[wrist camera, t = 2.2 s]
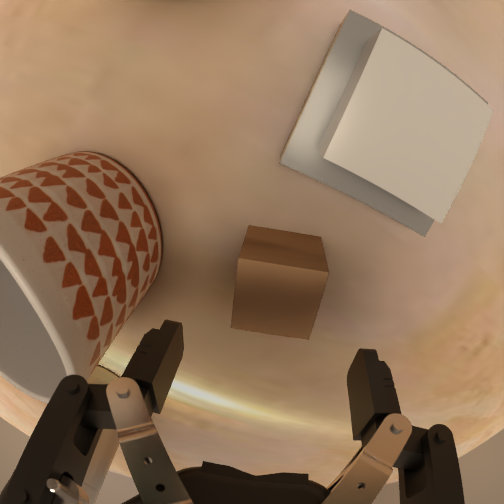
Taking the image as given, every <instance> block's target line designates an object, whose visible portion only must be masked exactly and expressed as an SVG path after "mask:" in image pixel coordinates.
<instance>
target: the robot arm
mask: <svg viewBox="0 0 504 504" xmlns="http://www.w3.org/2000/svg"><path fill="white" fill-rule="evenodd" d="M183 350H184V342H183V326H182V323H180V322H175V321H170V320H165V321H164V322H163V324H162V326H161V328H160V330H158V329H154V328H153V329H151V330H150V331H149V332H147V333H146V334H145V335H144V337H143V338H142V340H141V342H140V345H138V347H137V349H136V351H135V353H134V354H133V356H132V358H131V360H130V362H129V364H128V365H127V367H126V369H125V371H124V373H123V374H122V376H121V377H120V378H119V377H117V376H116V375H114V374H113V373H111V372H110V371H108V370H106V369H104V368H102V367H99V366H96V368H95V370H94V371H93V373H92V374H91V376H90V378H89V379H88V381H86V379H85V378H84V377H82V376H80V375H75V374H73V375H68V376H66V377H64V378H63V379H62V380H61V381H60V383H59V385H58V386H57V388H56V390H55V392H54V393H53V395H52V397H51V399H50V401H49V403H48V404H47V406H46V408H45V410H44V412H43V414H42V416H41V417H40V419H39V421H38V423H37V425H36V427H35V429H34V431H33V433H32V435H31V437H30V439H29V441H28V443H27V445H26V447H25V450H24V452H23V454H22V456H21V458H20V460H19V463H18V465H17V467H16V469H15V471H14V472H13V475H12V476H11V478H10V480H9V481H8V483H7V484H6V486H5V487H4V489H3V490H2V492H1V494H0V504H95V502H96V499H97V497H98V494H99V491H100V489H101V487H102V484H103V482H104V479H105V477H106V475H107V472H108V470H109V467H110V465H111V463H112V460H113V458H114V456H115V453H116V451H117V449H118V446H119V444H120V446H121V449H122V451H123V454H124V457H125V460H126V462H127V465H128V468H129V470H130V473H131V475H132V478H133V480H134V483H135V485H136V487H137V490H138V492H139V494H138V495H137V496H135V497H133V498H131V499H130V500H127V501H126V502H124V503H122V504H372V502H373V501H374V499H375V498H376V497H377V495H378V494H379V492H380V491H381V489H382V488H383V486H384V485H385V483H386V482H387V480H388V479H389V477H390V475H391V474H392V472H393V469H392V467H396V468H398V473H399V490H400V504H465V503H464V495H463V487H462V480H461V474H460V468H459V463H458V457H457V452H456V447H455V443H454V438H453V434H452V432H451V430H450V429H449V428H448V427H447V426H445V425H442V424H436V425H433V426H432V427H431V428H430V429H429V430H428V429H423V428H419V427H415V426H412V425H411V422H410V421H409V419H408V418H407V417H405V416H404V415H402V414H401V410H400V406H399V402H398V398H397V393H396V389H395V388H394V382H393V380H392V379H393V378H392V374H391V370H390V368H389V367H388V366H387V364H386V363H385V362H384V361H379V359H378V355H377V351H376V350H375V349H361V348H360V349H359V350H358V352H357V354H356V356H355V358H354V360H353V362H352V364H351V366H350V368H349V371H348V375H347V387H348V395H349V403H350V412H351V422H352V432H353V440H361V442H362V446H361V447H360V448H359V450H358V451H357V452H356V454H355V455H354V456H353V458H352V459H351V460H350V462H349V463H348V464H347V465H346V467H345V468H344V469H343V470H342V472H341V473H340V474H339V475H338V476H337V477H336V478H335V480H334V481H333V482H332V483H331V484H330V485H329V486H328V487H327V488H325V487H324V486H322V485H320V484H318V483H316V482H314V481H311V480H308V474H298V473H276V474H268V475H259V476H255V475H251V474H249V473H246V472H243V471H241V470H238V469H235V468H233V467H230V466H226V465H220V464H215V463H210V462H205V461H203V464H202V467H190V468H186V469H182V470H179V471H177V472H176V470H175V468H174V466H173V464H172V462H171V460H170V458H169V456H168V454H167V452H166V450H165V447H164V445H163V443H162V441H161V439H160V436H159V434H158V432H157V430H156V427H155V426H154V424H153V422H152V419H151V415H152V413H153V412H154V413H158V414H160V413H161V410H162V408H163V405H164V402H165V400H166V397H167V395H168V392H169V389H170V387H171V384H172V382H173V379H174V377H175V374H176V372H177V369H178V367H179V364H180V362H181V359H182V356H183Z"/></svg>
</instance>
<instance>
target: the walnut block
mask: <svg viewBox="0 0 504 504" xmlns="http://www.w3.org/2000/svg"><path fill="white" fill-rule="evenodd" d="M328 275H329V269H328V265H327V261H326V257H325V252H324V248H323V244H322V240H321V237H318V236H312V235H306V234H300V233H294V232H288V231H282V230H275V229H269V228H263V227H256V226H250V225H249V227H248V230H247V233H246V236H245V239H244V242H243V245H242V249H241V252H240V255H239V258H238V266H237V275H236V283H235V292H234V301H233V310H232V320H231V328H235V329H240V330H246V331H252V332H259V333H265V334H272V335H278V336H285V337H293V338H300V339H308V340H309V337H310V334H311V331H312V328H313V325H314V322H315V319H316V316H317V312H318V309H319V306H320V302H321V299H322V296H323V292H324V289H325V286H326V282H327V279H328Z"/></svg>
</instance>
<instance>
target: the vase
mask: <svg viewBox="0 0 504 504" xmlns="http://www.w3.org/2000/svg"><path fill="white" fill-rule="evenodd" d="M161 255H162V239H161V232H160V226H159V222H158V219H157V216H156V213H155V210H154V208H153V206H152V203H151V201H150V199H149V197H148V196H147V194H146V192H145V191H144V189H143V188H142V186H141V185H140V184H139V182H138V181H137V180H136V179H135V178H134V177H133V175H132V174H131V173H130V172H129V171H127V170H126V169H125V168H124V167H123V166H121V165H120V164H119V163H117V162H116V161H114V160H112V159H110V158H108V157H106V156H104V155H101V154H97V153H93V152H74V153H70V154H66V155H63V156H60V157H57V158H53V159H50V160H47V161H44V162H41V163H38V164H36V165H33V166H30V167H27V168H24V169H22V170H19V171H16V172H14V173H11V174H9V175H6V176H4V177H1V178H0V375H1V376H2V377H3V378H4V379H5V380H7V381H8V382H9V383H10V384H12V385H13V386H14V387H16V388H17V389H19V390H20V391H22V392H23V393H25V394H27V395H29V396H30V397H32V398H34V399H37V400H39V401H41V402H44V403H47V404H48V403H49V401H50V399H51V397H52V395H53V393H54V392H55V390H56V388H57V386H58V385H59V383H60V381H61V380H62V379H63V378H64V377H66V376H68V375H73V374H75V375H80V376H82V377H84V378H85V379H86V381H88V379H89V378H90V376H91V374H92V373H93V371H94V370H95V368H96V366H97V365H98V363H99V362H100V360H101V359H102V357H103V355H104V354H105V352H106V351H107V349H108V348H109V346H110V345H111V343H112V342H113V340H114V339H115V337H116V336H117V334H118V333H119V331H120V330H121V328H122V327H123V325H124V324H125V322H126V321H127V319H128V318H129V316H130V315H131V313H132V312H133V311H134V309H135V308H136V306H137V305H138V303H139V302H140V300H141V299H142V298H143V296H144V295H145V293H146V292H147V290H148V289H149V288H150V286H151V285H152V283H153V281H154V279H155V277H156V275H157V273H158V270H159V266H160V262H161Z"/></svg>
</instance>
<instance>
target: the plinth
mask: <svg viewBox="0 0 504 504" xmlns="http://www.w3.org/2000/svg"><path fill="white" fill-rule="evenodd" d="M493 111H494V110H493V109H492V108H491V107H490V106H489V105H488V102H487V101H485V100H484V99H483V98H482V97H481V96H480V95H479V94H478V93H477V92H475V91H474V90H473V89H472V88H471V87H470V86H469V85H467V84H466V83H465V82H464V81H463V80H461V79H460V78H459V77H458V76H456V75H455V74H454V73H453V72H451V71H450V70H449V69H447V68H446V67H445V66H443V65H442V64H441V63H439V62H438V61H437V60H435V59H434V58H432V57H431V56H429V55H428V54H427V53H425V52H424V51H422V50H421V49H419V48H418V47H416V46H415V45H413V44H411V43H410V42H408V41H407V40H405V39H403V38H402V37H400V36H399V35H397V34H395V33H393V32H392V31H390V30H388V29H386V28H385V27H383V26H381V25H379V24H377V23H375V22H374V21H372V20H370V19H368V18H366V17H364V16H362V15H360V14H358V13H356V12H354V11H351V10H349V12H348V13H347V15H346V16H345V18H344V20H343V21H342V23H341V25H340V27H339V29H338V31H337V33H336V35H335V37H334V40H333V42H332V44H331V46H330V48H329V50H328V52H327V55H326V57H325V59H324V61H323V63H322V66H321V68H320V70H319V72H318V74H317V76H316V79H315V81H314V83H313V85H312V87H311V90H310V92H309V94H308V96H307V98H306V101H305V103H304V105H303V107H302V109H301V112H300V114H299V116H298V118H297V121H296V123H295V125H294V127H293V129H292V132H291V134H290V136H289V138H288V141H287V143H286V145H285V147H284V150H283V152H282V154H281V156H280V164H282V165H284V166H287V167H289V168H291V169H293V170H296V171H298V172H300V173H302V174H305V175H307V176H309V177H311V178H313V179H315V180H318V181H320V182H322V183H324V184H326V185H328V186H330V187H332V188H334V189H336V190H338V191H340V192H342V193H344V194H346V195H348V196H350V197H352V198H354V199H356V200H358V201H360V202H362V203H364V204H366V205H368V206H370V207H372V208H374V209H376V210H377V211H379V212H381V213H383V214H385V215H387V216H388V217H390V218H392V219H394V220H396V221H398V222H399V223H401V224H403V225H405V226H406V227H408V228H410V229H412V230H413V231H415V232H417V233H419V234H420V235H422V236H424V237H425V236H426V234H427V232H428V230H429V229H430V227H431V225H432V224H433V222H434V220H436V221H437V222H439V223H440V224H441V223H442V221H443V220H444V218H445V216H446V214H447V212H448V211H449V209H450V207H451V205H452V203H453V201H454V199H455V197H456V195H457V194H458V192H459V190H460V188H461V186H462V184H463V182H464V180H465V177H466V175H467V173H468V171H469V169H470V167H471V165H472V163H473V160H474V158H475V156H476V154H477V151H478V149H479V147H480V144H481V142H482V139H483V137H484V135H485V132H486V129H487V127H488V124H489V122H490V119H491V116H492V114H493Z"/></svg>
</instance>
